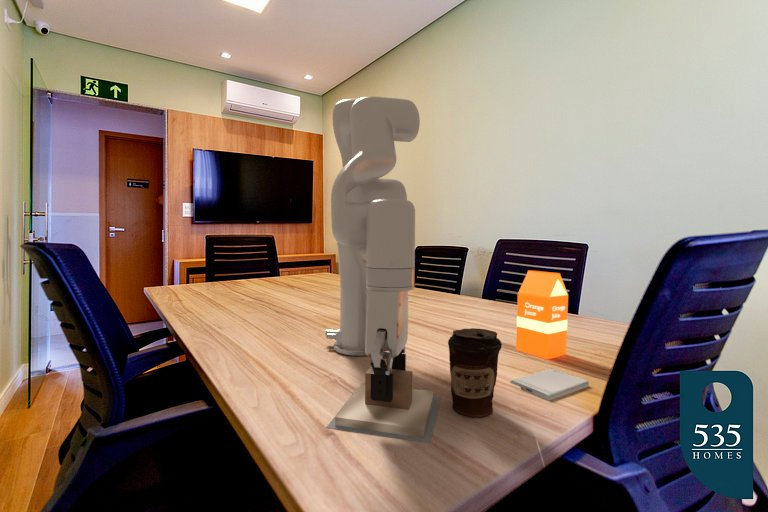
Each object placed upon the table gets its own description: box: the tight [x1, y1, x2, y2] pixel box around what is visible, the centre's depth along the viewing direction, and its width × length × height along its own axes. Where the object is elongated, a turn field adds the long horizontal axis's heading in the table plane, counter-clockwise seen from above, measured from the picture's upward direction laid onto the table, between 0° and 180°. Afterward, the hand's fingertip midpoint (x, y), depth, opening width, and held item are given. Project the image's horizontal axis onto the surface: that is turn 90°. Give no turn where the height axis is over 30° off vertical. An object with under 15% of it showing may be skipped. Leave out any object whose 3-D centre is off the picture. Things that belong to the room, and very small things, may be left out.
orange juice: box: [515, 269, 569, 360], centre depth 91 cm, size 8×9×20 cm
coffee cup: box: [447, 327, 503, 420], centre depth 59 cm, size 9×8×13 cm
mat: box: [325, 386, 441, 444], centre depth 59 cm, size 15×15×1 cm
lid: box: [334, 366, 435, 438], centre depth 58 cm, size 13×13×6 cm
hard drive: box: [509, 368, 590, 402], centre depth 70 cm, size 2×8×12 cm
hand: (389, 387), depth 58 cm, fingers open, 9 cm apart
